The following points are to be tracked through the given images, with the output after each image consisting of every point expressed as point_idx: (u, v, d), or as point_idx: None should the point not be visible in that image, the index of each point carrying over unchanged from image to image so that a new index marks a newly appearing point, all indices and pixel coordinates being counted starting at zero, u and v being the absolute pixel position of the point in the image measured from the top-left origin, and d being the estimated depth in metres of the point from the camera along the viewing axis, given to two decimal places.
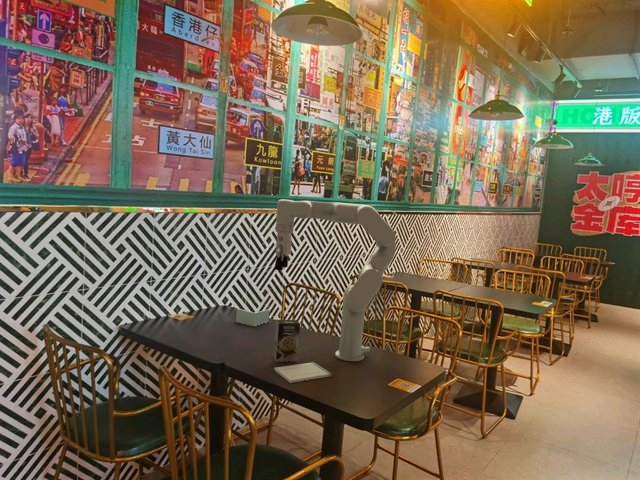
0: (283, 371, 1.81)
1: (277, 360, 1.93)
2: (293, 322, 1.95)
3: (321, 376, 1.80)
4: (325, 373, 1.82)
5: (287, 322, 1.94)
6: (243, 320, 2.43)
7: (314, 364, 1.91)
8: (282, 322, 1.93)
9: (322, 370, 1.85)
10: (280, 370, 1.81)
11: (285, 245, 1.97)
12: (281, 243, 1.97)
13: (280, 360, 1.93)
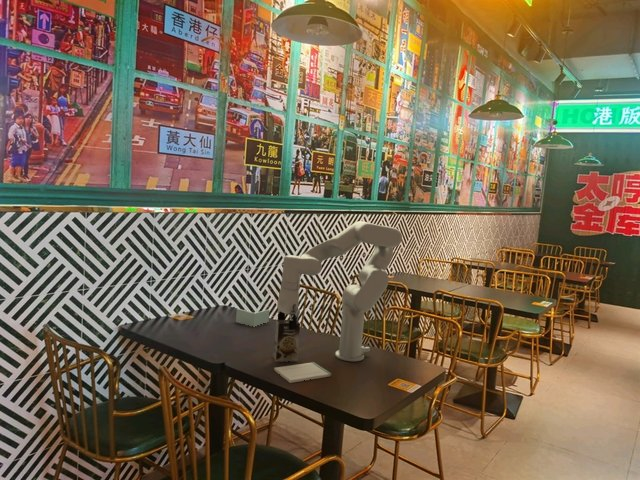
0: (283, 371, 1.81)
1: (277, 360, 1.93)
2: None
3: (321, 376, 1.80)
4: (325, 373, 1.82)
5: (287, 322, 1.94)
6: (243, 320, 2.43)
7: (314, 364, 1.91)
8: (282, 322, 1.93)
9: (322, 370, 1.85)
10: (280, 370, 1.81)
11: None
12: None
13: (280, 360, 1.93)
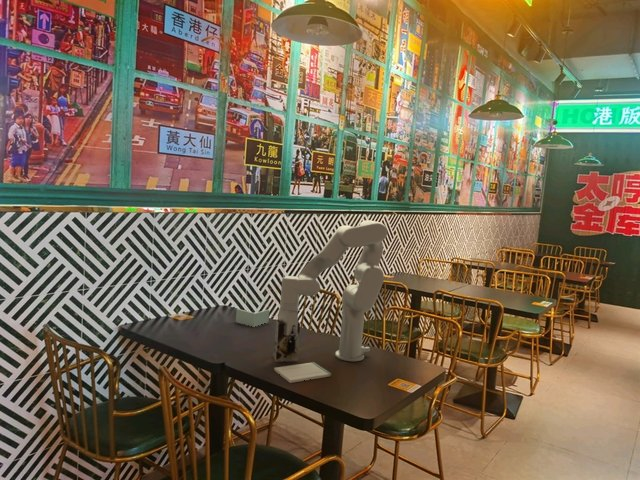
0: (283, 371, 1.81)
1: (277, 360, 1.93)
2: None
3: (321, 376, 1.80)
4: (325, 373, 1.82)
5: None
6: (243, 320, 2.43)
7: (314, 364, 1.91)
8: (282, 322, 1.93)
9: (322, 370, 1.85)
10: (280, 370, 1.81)
11: None
12: None
13: (280, 360, 1.93)
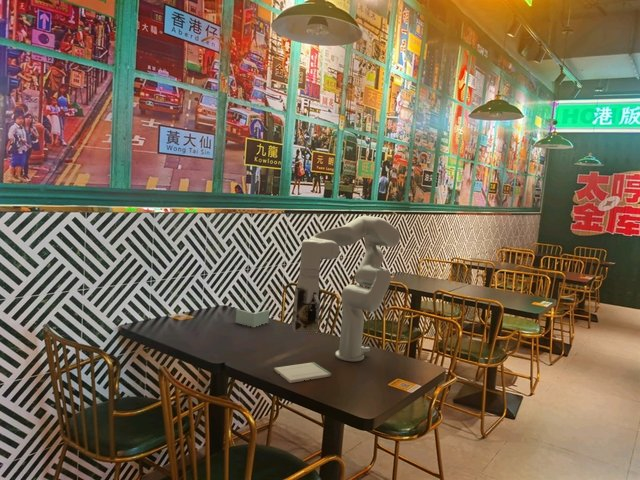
0: (283, 371, 1.81)
1: (296, 330, 1.78)
2: None
3: (321, 376, 1.80)
4: (325, 373, 1.82)
5: None
6: (242, 321, 2.42)
7: (314, 364, 1.91)
8: (302, 289, 1.78)
9: (322, 370, 1.85)
10: (280, 370, 1.81)
11: None
12: None
13: (299, 330, 1.78)
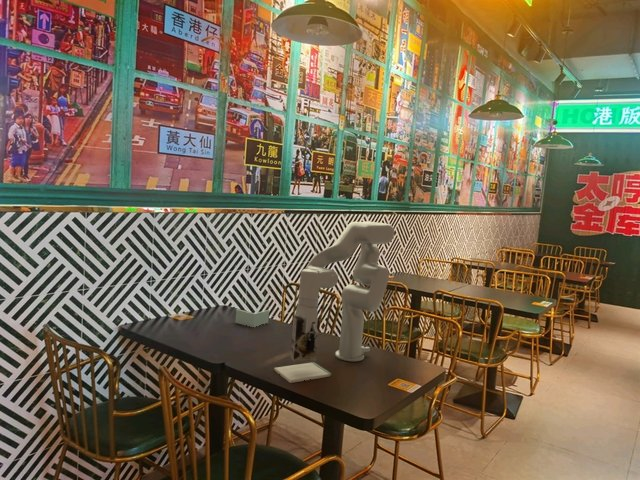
0: (283, 371, 1.81)
1: (295, 360, 1.78)
2: None
3: (321, 376, 1.80)
4: (325, 373, 1.82)
5: None
6: (242, 321, 2.42)
7: (314, 364, 1.91)
8: (300, 319, 1.79)
9: (322, 370, 1.85)
10: (280, 370, 1.81)
11: None
12: None
13: (298, 360, 1.79)
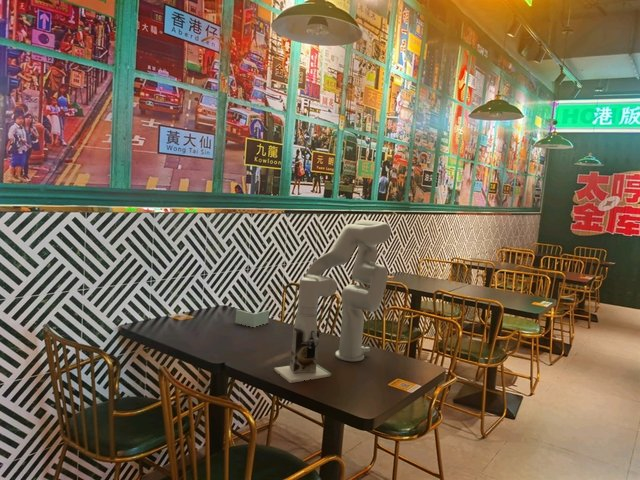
0: (283, 371, 1.81)
1: (295, 372, 1.79)
2: None
3: (321, 376, 1.80)
4: (325, 373, 1.82)
5: None
6: (242, 321, 2.42)
7: None
8: (300, 331, 1.79)
9: (322, 370, 1.85)
10: (280, 370, 1.81)
11: None
12: None
13: (298, 372, 1.79)
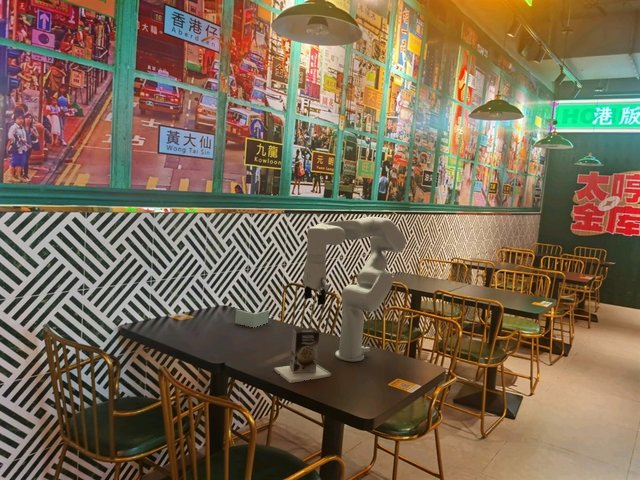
0: (283, 371, 1.81)
1: (295, 372, 1.79)
2: (311, 331, 1.81)
3: (321, 376, 1.80)
4: (325, 373, 1.82)
5: (305, 331, 1.80)
6: (242, 321, 2.41)
7: None
8: (300, 331, 1.79)
9: (322, 370, 1.85)
10: (280, 370, 1.81)
11: None
12: None
13: (298, 372, 1.79)
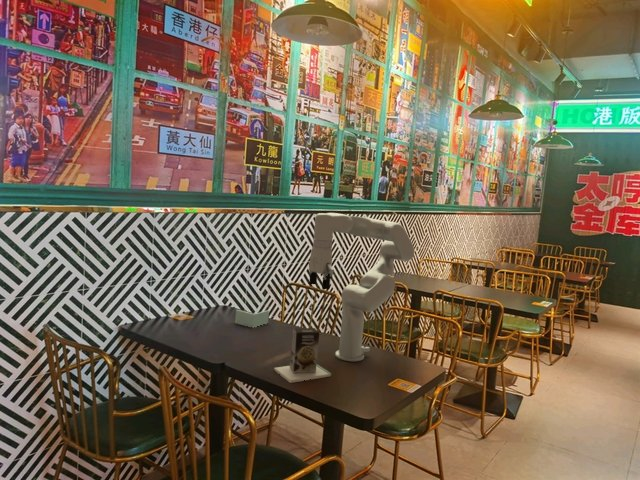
0: (283, 371, 1.81)
1: (295, 372, 1.79)
2: (311, 331, 1.81)
3: (321, 376, 1.80)
4: (325, 373, 1.82)
5: (305, 331, 1.80)
6: (242, 321, 2.41)
7: None
8: (300, 331, 1.79)
9: (322, 370, 1.85)
10: (280, 370, 1.81)
11: None
12: None
13: (298, 372, 1.79)
